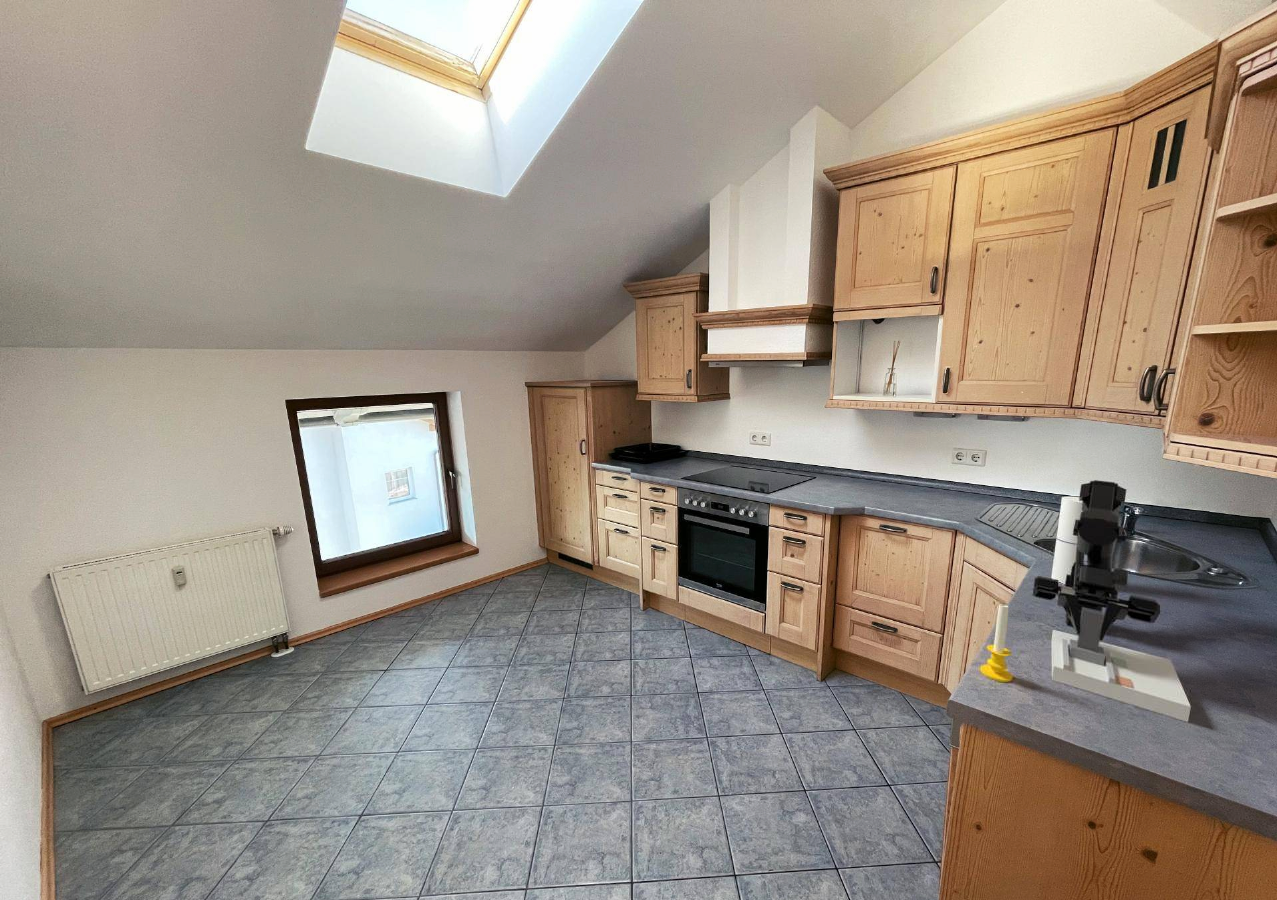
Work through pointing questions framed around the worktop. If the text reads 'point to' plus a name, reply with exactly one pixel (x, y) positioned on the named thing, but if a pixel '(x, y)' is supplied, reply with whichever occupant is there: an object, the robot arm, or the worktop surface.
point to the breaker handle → (1088, 638)
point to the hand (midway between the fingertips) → (1089, 636)
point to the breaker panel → (1122, 677)
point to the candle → (998, 650)
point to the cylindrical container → (1066, 538)
